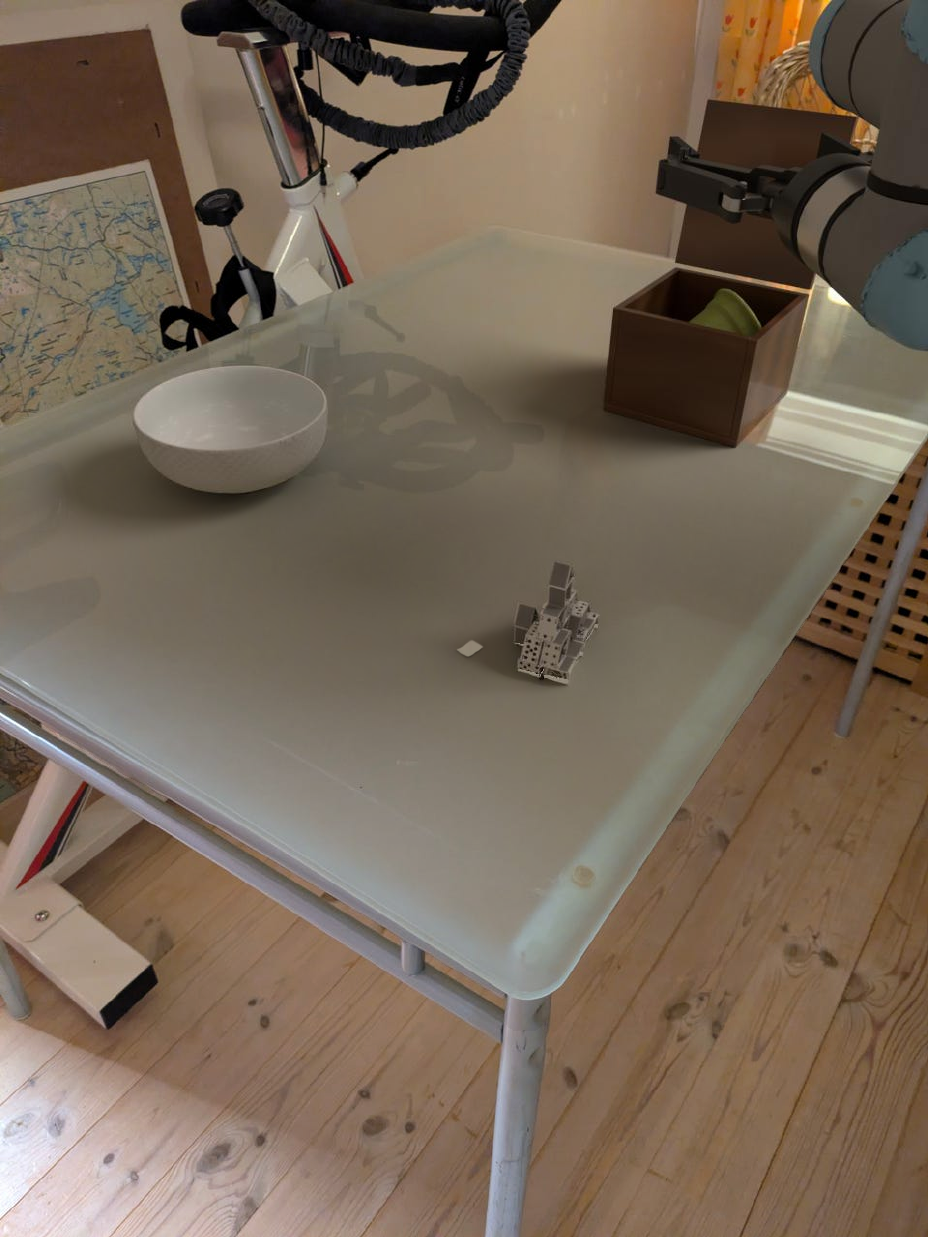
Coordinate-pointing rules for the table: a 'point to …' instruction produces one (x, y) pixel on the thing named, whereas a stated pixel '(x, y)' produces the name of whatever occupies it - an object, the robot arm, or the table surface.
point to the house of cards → (554, 627)
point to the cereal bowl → (232, 427)
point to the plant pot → (728, 314)
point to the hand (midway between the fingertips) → (747, 151)
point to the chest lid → (752, 143)
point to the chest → (701, 356)
